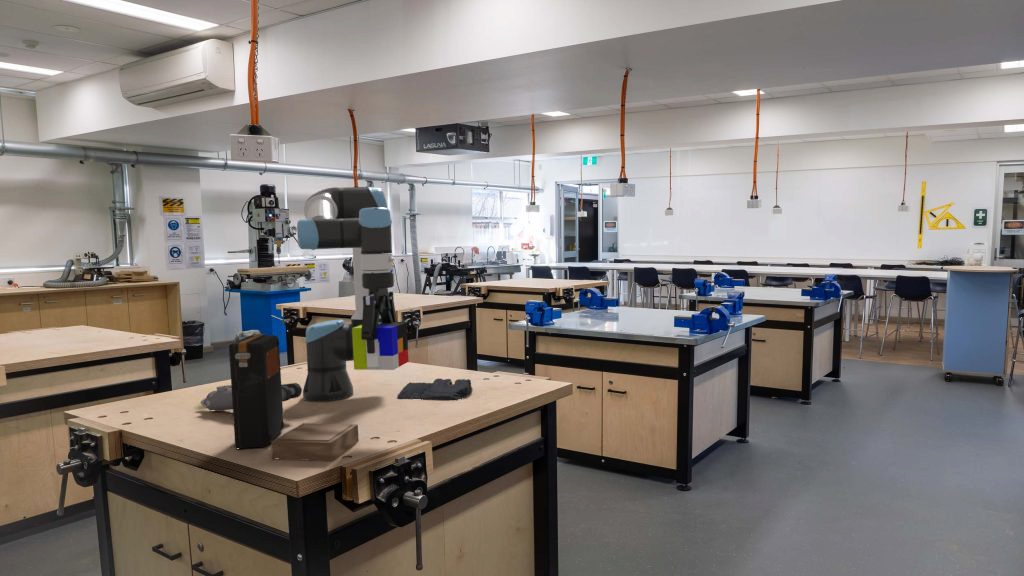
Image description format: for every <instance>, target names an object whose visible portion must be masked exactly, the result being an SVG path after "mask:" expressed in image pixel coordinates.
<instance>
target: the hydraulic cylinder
mask: <svg viewBox="0 0 1024 576" xmlns="http://www.w3.org/2000/svg"><path fill="white" fill-rule="evenodd" d="M281 388H282V403H284V402H287V401H289V400H291V399H296V398H299V397H300V396H302V393H303V388H302V387H301V385H300V384H299V383H297V382H290V383H285V384H283V383H282V384H281ZM200 404H201V406H203V407H206V408H207V409H208V410H209V411H210V410H222V411H229V410H233V403H232V388H231V384H227V385H221V386H216V390H213V391H210V392H209V393H208V394H207V395H206V397H205V398H203V399H202V400H201V401H200Z"/></svg>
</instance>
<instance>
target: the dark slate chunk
mask: <svg viewBox="0 0 1024 576" xmlns="http://www.w3.org/2000/svg"><path fill="white" fill-rule="evenodd" d="M471 392H473V386H472V381H471V379H465V378H464V379H463V378H462V379H460V378H459V379H456V380H455V381H454V384H453V382H452V379H449V378H445V379H442V378H436V379H434V381H433V382H424V381H423V382H410V381H409V383H407V384H406V385H405V386H403V388H402V389H401V390H400V391H399V393H398V394H397V397H396V399H398V400H413V399H421V401H449V400H456V401H458V399H461V400H463V399H464V398H465V397H464V396H466V397H468V396H469V394H470V393H471ZM471 394H472V393H471ZM471 394H470V395H471ZM467 395H468V396H467ZM463 397H464V398H463ZM462 398H463V399H462ZM422 399H423V400H422Z"/></svg>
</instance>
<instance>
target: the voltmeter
mask: <svg viewBox="0 0 1024 576" xmlns="http://www.w3.org/2000/svg"><path fill="white" fill-rule="evenodd" d="M228 352H229V353H228V354H229V368H230V371H229V372H230V385H231V388H230V389H232V403H233V409H232V418H233V432H234V434H233V435H234V447H235V449H237V448H241V449H245V448H244V447H250V448H264V447H267V446H268V445H269V444H270V443H271V441H273V440H274V439H276V438H277V436H278V435H279V434H280V433H281V432H282V430H284V426H285V421H284V411H283V410H284V409H283V408H284V407H283V402H282V388H281V385H282V374H281V358H280V355H281V354H280V340H279V337H278V336H277V335H275V334H273V335H272V334H271V335H266V334H265V333H261V334H257V335H255V336H254V335H250V336H248V337H245V338H243V339H241V340H238V341H236V342H234V343H233V342H232V343H230V344H229V345H228Z"/></svg>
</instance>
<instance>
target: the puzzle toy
mask: <svg viewBox="0 0 1024 576" xmlns="http://www.w3.org/2000/svg"><path fill="white" fill-rule="evenodd" d="M361 332H362V325H360V326H357V327H354V328H352V336H353V356H354V361H353V370H359V371H362V370H363V371H364V370H370V371H373V370H374V371H377V370H378V371H380V370H381V371H382V370H383V371H394V370H396V369H398V368H400V367H402V366H404V365H405V364H407V363H409V362H410V361H409V360H410V359H409V341H408V340H409V339H408V338H409V337H408V322H404V321H403V322H401V321H400V322H399V321H397V322H392V323H378V328H377V335H376V339H378V351H379V367H367V351H366V340H362V338H361Z"/></svg>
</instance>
